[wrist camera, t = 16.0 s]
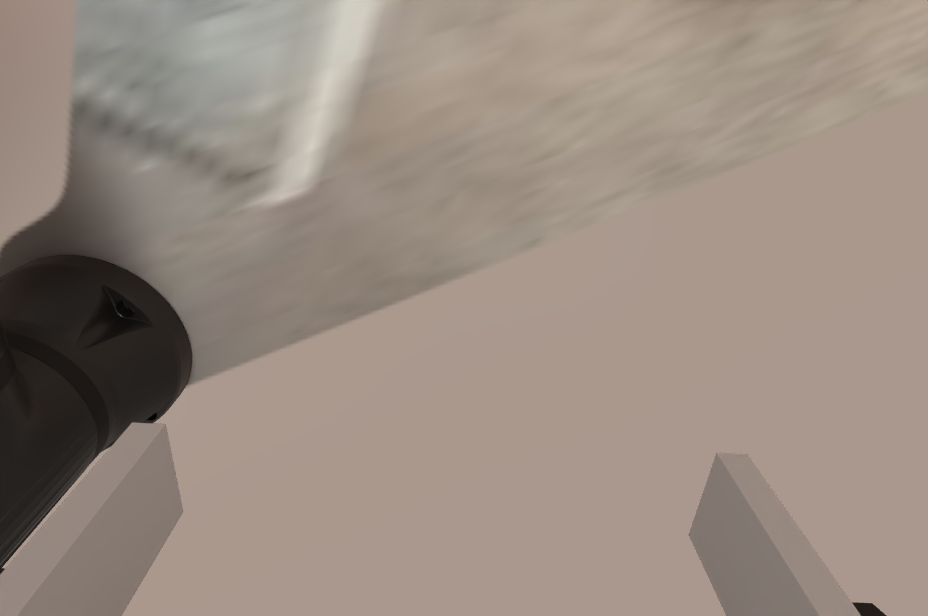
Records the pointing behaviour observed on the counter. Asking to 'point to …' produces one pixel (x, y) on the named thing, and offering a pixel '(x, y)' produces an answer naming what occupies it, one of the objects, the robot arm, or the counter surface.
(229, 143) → the counter surface
